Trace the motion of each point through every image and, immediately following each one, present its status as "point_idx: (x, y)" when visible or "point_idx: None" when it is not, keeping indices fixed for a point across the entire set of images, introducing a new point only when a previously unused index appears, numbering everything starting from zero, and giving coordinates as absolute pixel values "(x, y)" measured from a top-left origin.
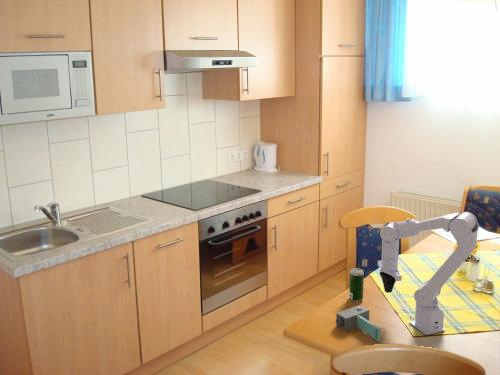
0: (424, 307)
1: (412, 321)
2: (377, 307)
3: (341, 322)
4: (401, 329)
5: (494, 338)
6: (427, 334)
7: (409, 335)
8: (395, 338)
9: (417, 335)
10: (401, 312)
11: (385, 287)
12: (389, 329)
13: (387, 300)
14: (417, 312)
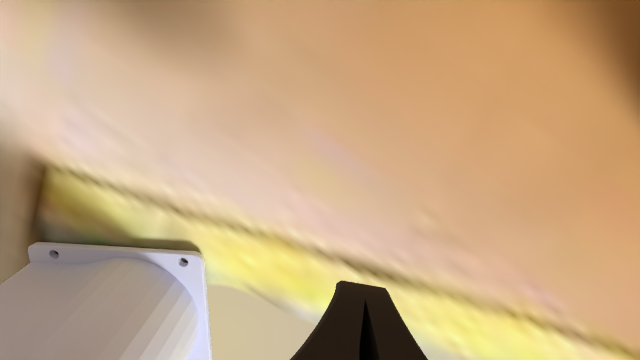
0: None
1: (195, 274)
2: (506, 205)
3: None
4: (144, 154)
5: None
6: (32, 251)
7: (57, 151)
8: (37, 34)
9: (47, 196)
10: None
11: (342, 315)
12: (168, 75)
13: (555, 329)
14: (64, 323)
